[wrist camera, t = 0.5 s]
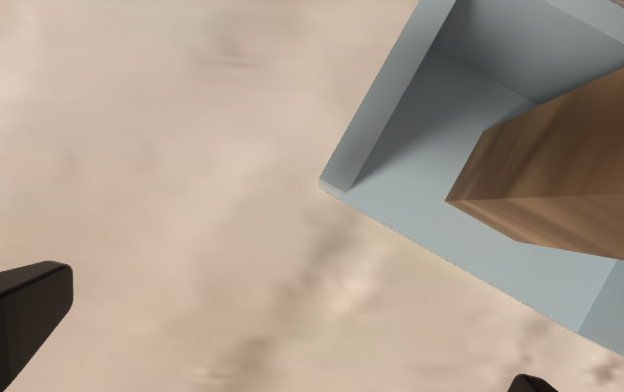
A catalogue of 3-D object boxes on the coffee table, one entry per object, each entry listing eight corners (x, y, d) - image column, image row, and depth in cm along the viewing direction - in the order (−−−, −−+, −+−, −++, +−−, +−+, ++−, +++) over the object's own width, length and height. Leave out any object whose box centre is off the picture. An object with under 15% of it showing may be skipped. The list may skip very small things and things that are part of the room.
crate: (589, 340, 20) (737, 413, 13) (318, 187, 20) (318, 177, 13) (684, 166, 20) (880, 145, 13) (413, 18, 21) (464, -78, 14)
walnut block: (516, 241, 20) (1011, 328, 6) (444, 201, 20) (753, 188, 6) (555, 170, 20) (1138, 83, 6) (483, 130, 20) (882, -51, 6)
